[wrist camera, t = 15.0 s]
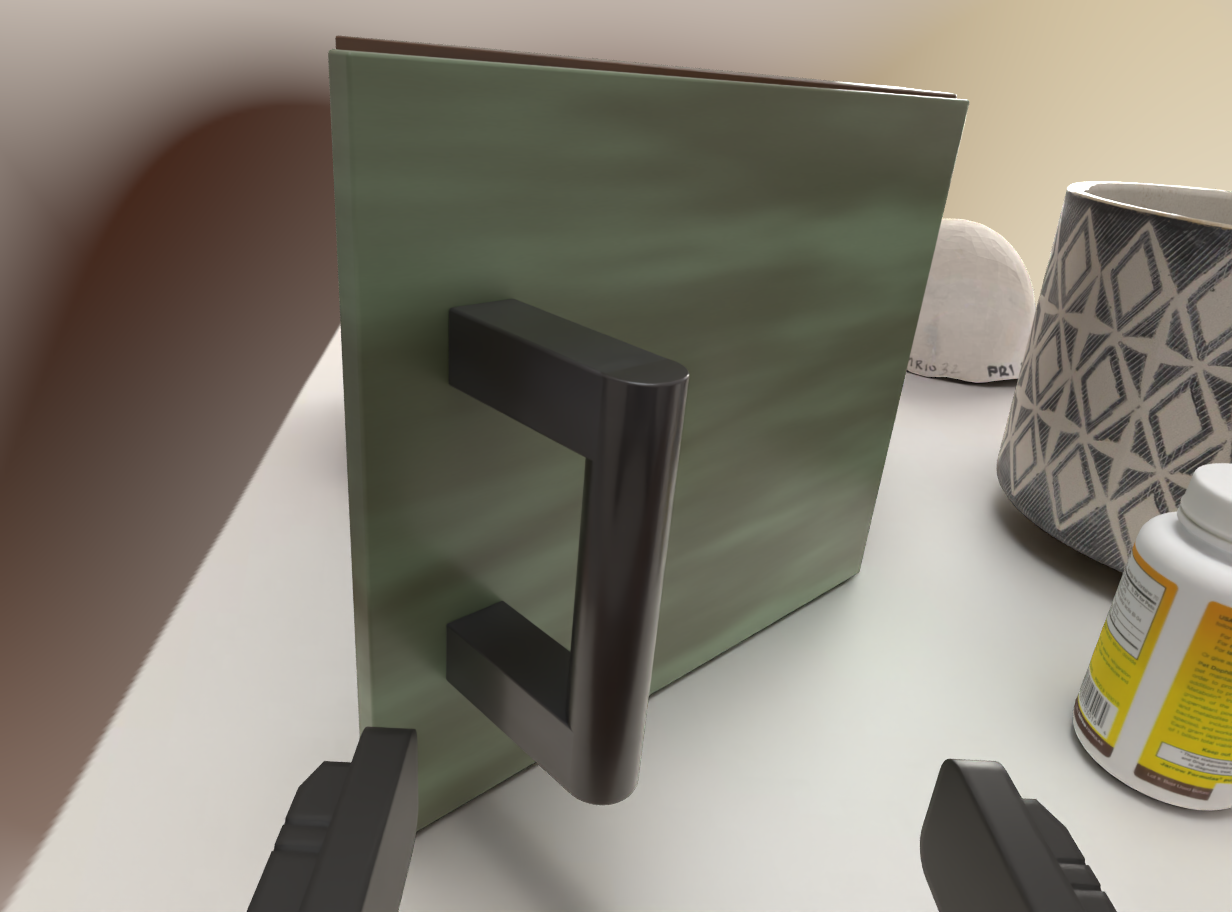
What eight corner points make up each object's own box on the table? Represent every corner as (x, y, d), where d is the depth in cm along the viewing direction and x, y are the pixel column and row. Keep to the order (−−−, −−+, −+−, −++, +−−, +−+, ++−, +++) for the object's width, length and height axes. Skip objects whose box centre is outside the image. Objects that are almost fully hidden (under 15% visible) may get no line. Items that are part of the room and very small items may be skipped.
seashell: (915, 401, 83) (846, 257, 82) (1070, 340, 75) (997, 181, 74) (882, 449, 70) (801, 280, 69) (1065, 382, 63) (977, 190, 61)
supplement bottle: (1284, 788, 29) (1428, 518, 25) (1186, 843, 27) (1329, 553, 22) (1128, 686, 33) (1228, 441, 29) (1032, 724, 31) (1126, 463, 27)
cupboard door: (985, 636, 35) (1149, 118, 27) (512, 1023, 20) (565, 77, 12) (844, 565, 40) (949, 97, 32) (362, 837, 24) (325, 48, 16)
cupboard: (850, 564, 40) (957, 94, 32) (353, 486, 43) (334, 35, 35) (830, 434, 55) (901, 87, 46) (460, 382, 57) (464, 46, 49)
